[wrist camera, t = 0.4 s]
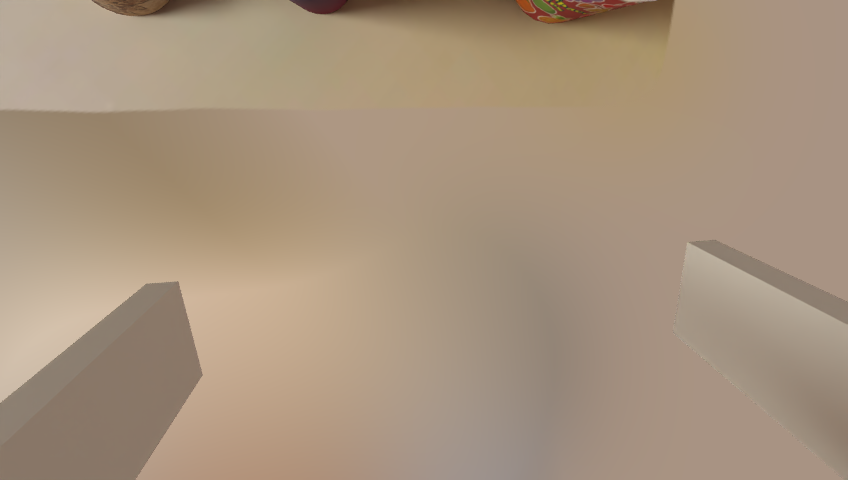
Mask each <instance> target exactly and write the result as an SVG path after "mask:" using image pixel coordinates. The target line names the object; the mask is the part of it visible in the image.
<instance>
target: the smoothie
mask: <svg viewBox="0 0 848 480" xmlns="http://www.w3.org/2000/svg"><path fill="white" fill-rule="evenodd" d="M647 1H657V0H516V2H517V3H518V5H519V6H520V8H521V9H522V10H523V12H525V13H526V14H527V15H529V16H530V17H532V18H533V19H534V20H537V21H541V22H545V23H548V24H549V23H560V22H565V21H569V20H573V19H577V18H581V17H585V16H589V15H593V14H597V13H602V12H606V11H610V10H614V9H618V8H622V7H626V6H630V5H634V4H638V3H642V2H647Z"/></svg>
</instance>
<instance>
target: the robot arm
mask: <svg viewBox="0 0 848 480" xmlns="http://www.w3.org/2000/svg"><path fill="white" fill-rule="evenodd" d="M673 333H674V334H675V335H676V336H677V337H678V338H680V339H681V340H682V341H683V342H684V343H685V344H687V345H688V346H689V347H690V348H691V349H692V350H694V351H695V352H696V353H697V354H698V355H699V356H701V357H702V358H703V359H704V360H705V361H706V362H708V363H709V364H710V365H711V366H712V367H713V368H715V369H716V370H717V371H718V372H719V373H720V374H721V375H723V376H724V377H725V378H726V379H727V380H729V381H730V382H731V383H732V384H733V385H734V386H735V387H737V388H738V389H739V390H740V391H741V392H742V393H744V394H745V395H746V396H747V397H748V398H749V399H751V400H752V401H753V402H754V403H755V404H756V405H758V406H759V407H760V408H761V409H762V410H763V411H765V412H766V413H767V414H768V415H769V416H770V417H772V418H773V419H774V420H775V421H776V422H777V423H779V424H780V425H781V426H782V427H783V428H784V429H785V430H787V431H788V432H789V433H790V434H792V436H794V437H795V438H796V439H797V440H798V441H800V442H801V443H802V444H803V445H804V446H805V447H807V448H808V449H809V450H810V451H811V452H813V454H815V455H816V456H817V457H818V458H819V459H820V460H822V461H823V462H824V463H825V464H826V465H828V466H829V467H830V468H831V469H832V470H833V471H834V472H836V473H837V474H838V475H839V476H840V477H841V478H843V479H844V480H848V302H847V301H845V300H843V299H840V298H838V297H836V296H834V295H832V294H830V293H828V292H825V291H823V290H821V289H819V288H817V287H815V286H813V285H810V284H808V283H806V282H804V281H802V280H800V279H797V278H795V277H793V276H791V275H789V274H787V273H785V272H783V271H780V270H778V269H776V268H774V267H772V266H770V265H767V264H765V263H763V262H761V261H759V260H757V259H755V258H752V257H750V256H748V255H746V254H744V253H742V252H740V251H737V250H735V249H733V248H731V247H729V246H727V245H725V244H722V243H720V242H718V241H716V240H710V241H696V242H688V243H687V248H686V254H685V260H684V266H683V273H682V279H681V285H680V292H679V298H678V304H677V311H676V317H675V323H674V329H673ZM201 377H202V371H201V367H200V364H199V359H198V356H197V351H196V348H195V344H194V340H193V336H192V332H191V329H190V325H189V321H188V317H187V313H186V309H185V306H184V302H183V298H182V294H181V290H180V286H179V282H166V283H152V284H146V285H144V286H143V287H142V288H141V289H140V290H138V291H137V292H136V293H135V294H133V295H132V296H131V297H130V298H129V299H127V300H126V301H125V302H124V303H122V304H121V305H120V306H119V307H118V308H116V309H115V310H114V311H113V312H111V313H110V314H109V315H108V316H106V317H105V318H104V319H103V320H102V321H100V322H99V323H98V324H97V325H95V326H94V327H93V328H92V329H91V330H90V331H88V332H87V333H86V334H85V335H83V336H82V337H81V338H80V339H78V340H77V341H76V342H75V343H73V344H72V345H71V346H70V347H68V348H67V349H66V350H65V351H64V352H62V353H61V354H60V355H59V356H57V357H56V358H55V359H54V360H53V361H51V362H50V363H49V364H48V365H46V366H45V367H44V368H43V369H42V370H41V371H39V372H38V373H37V374H35V375H34V376H33V377H32V378H31V379H29V380H28V381H27V382H26V383H24V384H23V385H22V386H21V387H20V388H18V389H17V390H16V391H15V392H13V393H12V394H11V395H10V396H8V397H7V398H6V399H5V400H4V401H2V402H1V403H0V480H135V479H136V478H137V476H138V475H139V473H140V472H141V470H142V468H143V467H144V465H145V464H146V462H147V461H148V459H149V458H150V456H151V454H152V453H153V451H154V450H155V448H156V447H157V445H158V444H159V442H160V440H161V438H162V437H163V436H164V434H165V433H166V431H167V429H168V428H169V426H170V425H171V423H172V422H173V420H174V419H175V417H176V416H177V414H178V412H179V411H180V409H181V408H182V406H183V405H184V403H185V401H186V400H187V398H188V397H189V395H190V394H191V392H192V391H193V389H194V387H195V386H196V384H197V383H198V381H199V380H200V378H201Z"/></svg>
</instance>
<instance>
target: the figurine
mask: <svg viewBox="0 0 848 480" xmlns="http://www.w3.org/2000/svg"><path fill="white" fill-rule="evenodd" d="M92 1H93V2H95V3H96V4H98V5H99V6H101V7H103V8H105V9H107V10H110V11H113V12H115V13H117V14H122V15H128V16H139V15H146V14H150V13H154V12H155V11H157V10H159V9H161V8H162V7H163V6H164V5H165V4H166V3H168V2H169V0H92Z"/></svg>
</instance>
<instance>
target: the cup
mask: <svg viewBox="0 0 848 480" xmlns="http://www.w3.org/2000/svg"><path fill="white" fill-rule="evenodd" d="M290 1H292V2H293V3H295V4H297V5H298V6H300V7H302V8H303V9H305V10H307V11H309V12H312V13H315V14H328V13H331V12H334V11H336V10H338V9H339V8H341V7H342V6H343V5H344V4H345V3H346V2H347V0H290Z"/></svg>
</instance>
